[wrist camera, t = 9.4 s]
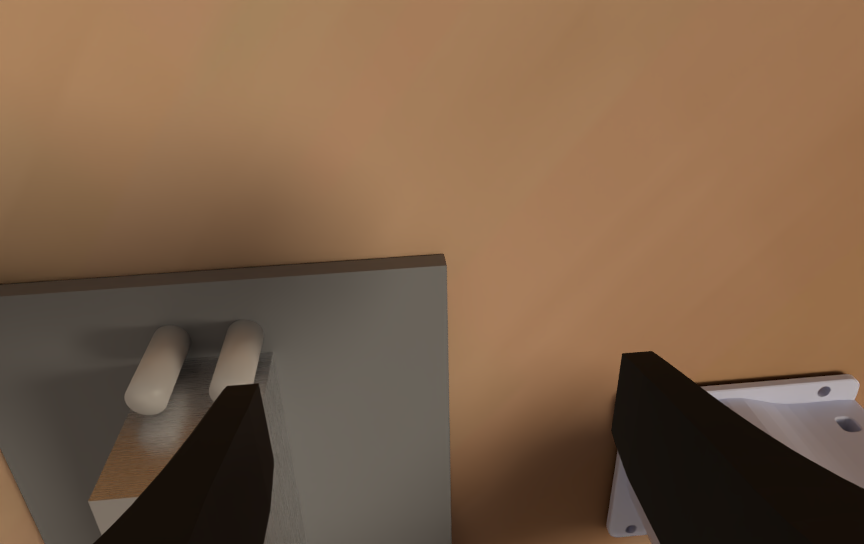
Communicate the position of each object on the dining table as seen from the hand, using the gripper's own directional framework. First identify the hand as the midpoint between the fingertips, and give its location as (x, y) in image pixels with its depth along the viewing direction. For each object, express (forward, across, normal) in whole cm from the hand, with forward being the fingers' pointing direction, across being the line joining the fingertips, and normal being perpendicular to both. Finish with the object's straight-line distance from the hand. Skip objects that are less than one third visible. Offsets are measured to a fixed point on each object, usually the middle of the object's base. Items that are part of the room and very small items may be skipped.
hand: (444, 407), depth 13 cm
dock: (+9, +7, +10) cm, 15 cm away
